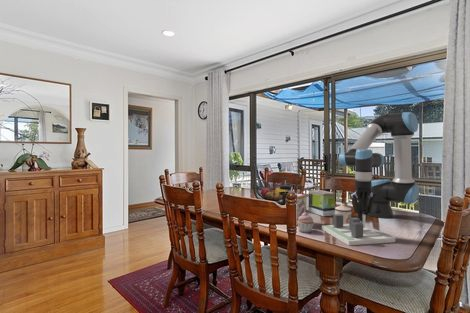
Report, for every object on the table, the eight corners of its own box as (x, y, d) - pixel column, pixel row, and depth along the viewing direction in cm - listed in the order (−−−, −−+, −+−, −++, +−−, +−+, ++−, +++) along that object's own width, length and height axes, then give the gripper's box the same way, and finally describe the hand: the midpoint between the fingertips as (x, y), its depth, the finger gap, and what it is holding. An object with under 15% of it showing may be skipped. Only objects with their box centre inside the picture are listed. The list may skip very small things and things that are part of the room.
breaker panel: (361, 226, 149) (361, 223, 149) (395, 242, 125) (395, 237, 125) (321, 229, 144) (321, 225, 144) (348, 245, 121) (348, 240, 121)
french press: (279, 207, 196) (280, 176, 195) (292, 208, 193) (293, 176, 192) (276, 211, 185) (276, 177, 184) (290, 212, 182) (290, 178, 181)
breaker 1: (339, 225, 143) (340, 214, 143) (343, 226, 140) (343, 215, 140) (332, 225, 143) (333, 214, 142) (336, 227, 140) (336, 215, 139)
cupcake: (309, 235, 135) (309, 215, 134) (292, 231, 141) (292, 212, 141) (317, 230, 142) (317, 212, 141) (301, 227, 148) (301, 209, 148)
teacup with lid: (349, 227, 148) (350, 206, 148) (332, 224, 153) (332, 204, 153) (354, 222, 158) (354, 202, 157) (338, 219, 163) (338, 200, 163)
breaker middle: (356, 229, 136) (356, 217, 136) (360, 231, 133) (360, 219, 133) (349, 229, 136) (349, 217, 135) (352, 231, 133) (353, 219, 132)
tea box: (335, 215, 174) (335, 192, 173) (322, 217, 170) (323, 193, 169) (319, 210, 188) (319, 189, 187) (307, 211, 184) (308, 190, 183)
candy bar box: (296, 226, 150) (296, 197, 149) (288, 224, 153) (288, 195, 153) (306, 222, 158) (307, 194, 157) (299, 220, 161) (299, 193, 161)
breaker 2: (358, 234, 128) (359, 222, 127) (363, 236, 125) (363, 224, 125) (351, 235, 127) (351, 222, 127) (355, 237, 124) (355, 224, 124)
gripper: (369, 179, 139) (368, 224, 140) (346, 179, 137) (346, 225, 138) (380, 180, 132) (379, 228, 133) (356, 181, 129) (355, 229, 130)
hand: (362, 226), depth 135 cm, fingers closed
